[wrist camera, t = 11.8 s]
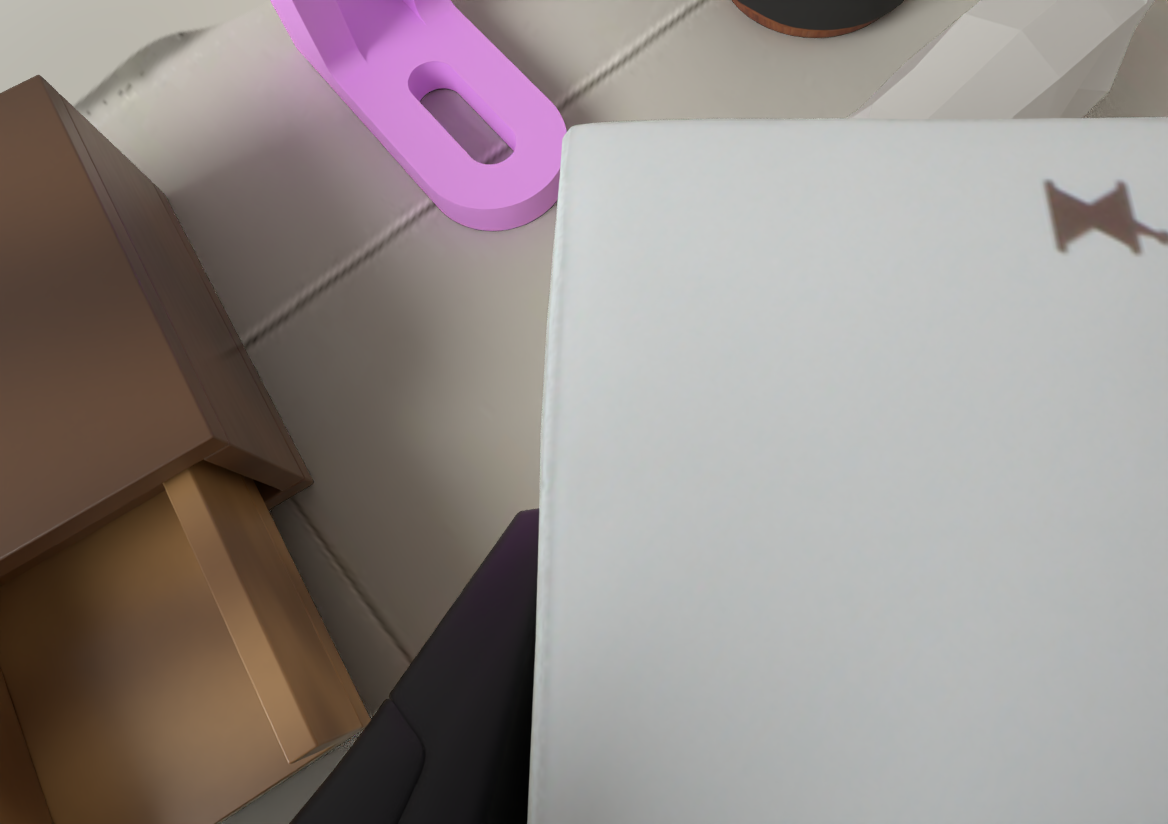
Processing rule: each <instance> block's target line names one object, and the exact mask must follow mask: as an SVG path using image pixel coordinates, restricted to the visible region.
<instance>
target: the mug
mask: <svg viewBox="0 0 1168 824" xmlns="http://www.w3.org/2000/svg"><path fill="white" fill-rule="evenodd" d="M903 1H904V0H732V2H733V3H734V4H735V5H736V6H737V7H738V8H739V9H740V10H741V11H742V12H743V13H744V14H746V15H747V16H748V17H749V18H751V19H753V20H754V21H756V22H757V23H759V24H761V25H763V26H765V27H767V28H769V29H772V30H775V31H777V32H780V33H784V34H788V35H792V36H799V37H810V38H822V37H832V36H839V35H843V34H847V33H850V32H853V31H856V30H858V29H861V28H863V27H865V26H867V25H869V24H871V23H872V22H874V21H876V20H877V19H879V18H880V17H882V16H883V15H885V14H887V13H889V12H891V11H892V10H893V9H895V8H896V7H897V6H899V5H900V4H901V3H902V2H903Z"/></svg>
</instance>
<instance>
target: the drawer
mask: <svg viewBox="0 0 1168 824" xmlns="http://www.w3.org/2000/svg"><path fill="white" fill-rule="evenodd" d="M370 721H371V719H370V717H369V715H368V713H367V711H366V709H365V707H364V705H363V703H362V701H361V699H360V697H359V694H358V692H357V690H356V688H355V686H354V684H353V682H352V680H351V678H350V676H349V674H348V672H347V670H346V668H345V666H344V664H343V662H342V660H341V658H340V656H339V654H338V652H337V650H336V648H335V646H334V643H333V641H332V639H331V637H330V635H329V633H328V631H327V629H326V627H325V625H324V623H323V621H322V619H321V617H320V615H319V613H318V611H317V609H316V607H315V605H314V603H313V601H312V599H311V597H310V595H309V593H308V590H307V588H306V586H305V584H304V582H303V580H302V578H301V576H300V574H299V572H298V570H297V568H296V566H295V564H294V562H293V560H292V558H291V556H290V554H289V552H288V550H287V548H286V546H285V544H284V542H283V540H282V537H281V535H280V533H279V531H278V529H277V527H276V525H275V523H274V521H273V519H272V517H271V515H270V513H269V511H268V509H267V507H266V505H265V503H264V501H263V499H262V497H261V495H260V493H259V491H258V489H257V486H256V484H255V482H254V480H253V479H251V478H249V477H246V476H244V475H241V474H239V473H236V472H233V471H231V470H228V469H226V468H223V467H221V466H218V465H216V464H213V463H211V462H208V461H205V460H204V459H203V460H201V461H199V462H198V463H196V464H194V465H192V466H191V467H189V468H187V469H186V470H184V471H182V472H180V473H179V474H177V475H175V476H174V477H172V478H170V479H168V480H167V481H165V482H163V483H162V484H160V485H158V486H156V487H155V488H153V489H151V490H150V491H148V492H146V493H144V494H143V495H141V496H139V497H138V498H136V499H134V500H132V501H131V502H129V503H127V504H126V505H124V506H122V507H120V508H119V509H117V510H115V511H113V512H112V513H110V514H108V515H107V516H105V517H103V518H101V519H100V520H98V521H96V522H95V523H93V524H91V525H89V526H88V527H86V528H84V529H83V530H81V531H79V532H77V533H76V534H74V535H72V536H71V537H69V538H67V539H65V540H64V541H62V542H60V543H59V544H57V545H55V546H53V547H52V548H50V549H48V550H47V551H45V552H43V553H41V554H40V555H38V556H36V557H34V558H33V559H31V560H29V561H28V562H26V563H24V564H22V565H21V566H19V567H17V568H16V569H14V570H12V571H10V572H9V573H7V574H5V575H4V576H2V577H0V824H220V823H221V822H223V821H224V820H226V819H227V818H229V817H230V816H232V815H233V814H235V813H236V812H238V811H239V810H241V809H243V808H244V807H246V806H247V805H249V804H250V803H252V802H253V801H255V800H256V799H258V798H259V797H261V796H262V795H264V794H265V793H267V792H268V791H270V790H271V789H273V788H274V787H276V786H278V785H279V784H281V783H282V782H284V781H285V780H287V779H288V778H290V777H291V776H293V775H294V774H296V773H297V772H299V771H300V770H302V769H303V768H305V767H306V766H308V765H310V764H311V763H313V762H314V761H316V760H317V759H319V758H320V757H322V756H323V755H325V754H326V753H328V752H329V751H331V750H332V749H334V748H335V747H337V746H338V745H340V744H341V743H343V742H345V741H346V740H348V739H349V738H351V737H352V736H354V735H355V734H357V733H358V732H360V731H361V730H363V729H364V728H366V726H367V725H368V723H369V722H370Z"/></svg>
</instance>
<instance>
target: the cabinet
mask: <svg viewBox="0 0 1168 824" xmlns="http://www.w3.org/2000/svg"><path fill="white" fill-rule="evenodd" d="M203 459H204V460H205V461H208V462H211V463H213V464H216V465H218V466H221V467H223V468H226V469H228V470H231V471H233V472H236V473H239V474H241V475H244V476H246V477H249V478H251V479H253V480H254V482H255V484H256V486H257V489H258V491H259V493H260V495H261V497H262V499H263V501H264V503H265V505H266V507H267V509H268V510H270V509H271V508H273V507H275V506H276V505H278V504H280V503H281V502H283V501H285V500H286V499H288V498H290V497H291V496H293V495H295V494H296V493H298V492H300V491H301V490H303V489H305V488H306V487H308V486H310V485H311V484H313V480H312V478H311V476H310V474H309V472H308V470H307V468H306V466H305V464H304V462H303V460H302V458H301V456H300V454H299V453H298V451H297V449H296V447H295V445H294V443H293V441H292V439H291V437H290V435H289V433H288V431H287V429H286V427H285V426H284V424H283V422H282V420H281V418H280V416H279V414H278V412H277V410H276V408H275V406H274V404H273V402H272V400H271V399H270V397H269V395H268V393H267V391H266V389H265V387H264V385H263V383H262V381H261V379H260V377H259V375H258V373H257V372H256V370H255V368H254V366H253V364H252V362H251V360H250V358H249V356H248V354H247V352H246V350H245V348H244V346H243V345H242V343H241V341H240V339H239V337H238V335H237V333H236V331H235V329H234V327H233V325H232V323H231V321H230V319H229V318H228V316H227V314H226V312H225V310H224V308H223V306H222V304H221V302H220V300H219V298H218V296H217V294H216V292H215V291H214V289H213V287H212V285H211V283H210V281H209V279H208V277H207V275H206V273H205V271H204V269H203V267H202V265H201V264H200V262H199V260H198V258H197V256H196V254H195V252H194V250H193V248H192V246H191V244H190V242H189V240H188V238H187V237H186V235H185V233H184V231H183V229H182V227H181V225H180V223H179V221H178V219H177V217H176V215H175V213H174V211H173V210H172V208H171V206H170V204H169V202H168V200H167V198H166V196H165V194H164V193H163V192H162V191H161V190H160V189H159V188H158V187H157V186H156V185H155V184H153V183H152V182H151V180H150V179H149V178H148V177H147V176H145V175H144V174H143V173H142V172H141V171H140V170H139V169H138V168H137V167H136V166H135V165H134V164H133V163H132V162H131V161H130V160H129V159H128V158H127V157H126V156H124V155H123V154H122V153H121V152H120V151H119V150H118V149H117V148H116V147H115V146H114V145H113V144H112V143H111V142H110V141H109V140H108V139H107V138H106V137H105V136H103V135H102V134H101V133H100V132H99V131H98V130H97V129H96V128H95V127H94V126H93V125H92V124H91V123H90V122H89V121H88V120H87V119H86V118H85V117H83V116H82V115H81V114H80V113H79V112H78V111H77V110H76V109H75V108H74V107H73V106H72V105H71V104H70V103H69V102H68V101H67V100H66V99H65V98H63V97H62V96H61V95H60V94H59V93H58V92H57V91H56V90H55V89H54V88H53V87H52V86H51V85H50V84H49V83H48V82H47V81H46V80H45V79H44V78H42V77H41V76H40V75H36V76H35V77H33V78H30V79H28V80H26V81H24V82H22V83H20V84H18V85H16V86H14V87H12V88H10V89H8V90H6V91H4V92H2V93H0V577H2V576H4V575H5V574H7V573H9V572H10V571H12V570H14V569H16V568H17V567H19V566H21V565H22V564H24V563H26V562H28V561H29V560H31V559H33V558H34V557H36V556H38V555H40V554H41V553H43V552H45V551H47V550H48V549H50V548H52V547H53V546H55V545H57V544H59V543H60V542H62V541H64V540H65V539H67V538H69V537H71V536H72V535H74V534H76V533H77V532H79V531H81V530H83V529H84V528H86V527H88V526H89V525H91V524H93V523H95V522H96V521H98V520H100V519H101V518H103V517H105V516H107V515H108V514H110V513H112V512H113V511H115V510H117V509H119V508H120V507H122V506H124V505H126V504H127V503H129V502H131V501H132V500H134V499H136V498H138V497H139V496H141V495H143V494H144V493H146V492H148V491H150V490H151V489H153V488H155V487H156V486H158V485H160V484H162V483H163V482H165V481H167V480H168V479H170V478H172V477H174V476H175V475H177V474H179V473H180V472H182V471H184V470H186V469H187V468H189V467H191V466H192V465H194V464H196V463H198V462H199V461H201V460H203Z"/></svg>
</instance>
